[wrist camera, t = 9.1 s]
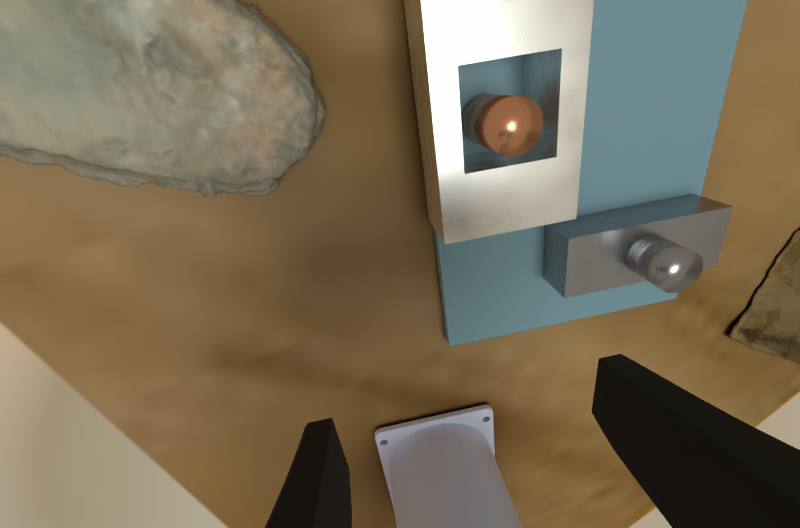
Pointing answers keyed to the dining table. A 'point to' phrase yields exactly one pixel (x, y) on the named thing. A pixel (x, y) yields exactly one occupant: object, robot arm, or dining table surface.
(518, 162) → the silver block with hole
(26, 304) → the dining table surface
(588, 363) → the dining table surface
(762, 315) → the rock
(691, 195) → the metal knob block
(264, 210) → the dining table surface
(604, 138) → the board
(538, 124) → the copper cylinder peg
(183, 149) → the long grey stone
